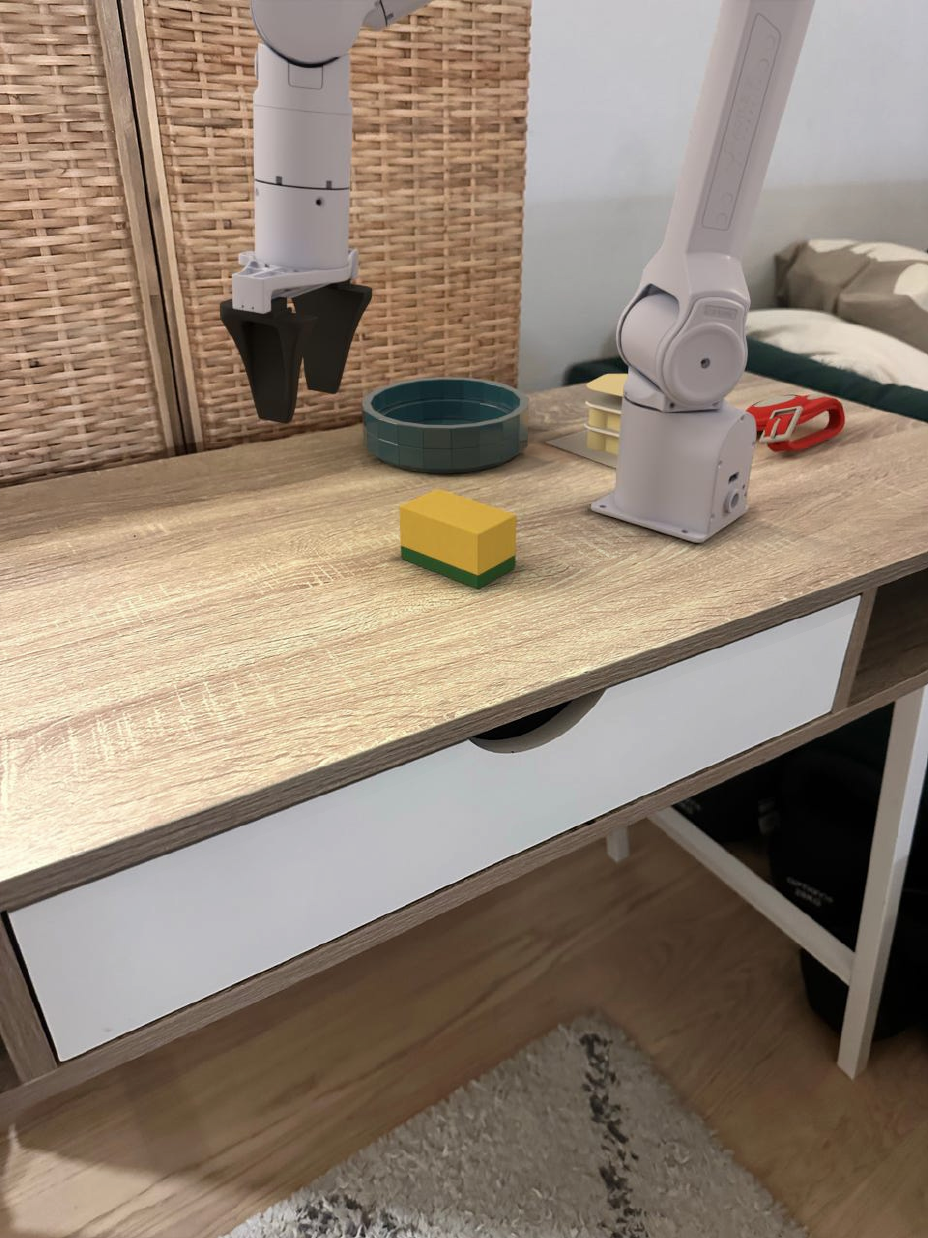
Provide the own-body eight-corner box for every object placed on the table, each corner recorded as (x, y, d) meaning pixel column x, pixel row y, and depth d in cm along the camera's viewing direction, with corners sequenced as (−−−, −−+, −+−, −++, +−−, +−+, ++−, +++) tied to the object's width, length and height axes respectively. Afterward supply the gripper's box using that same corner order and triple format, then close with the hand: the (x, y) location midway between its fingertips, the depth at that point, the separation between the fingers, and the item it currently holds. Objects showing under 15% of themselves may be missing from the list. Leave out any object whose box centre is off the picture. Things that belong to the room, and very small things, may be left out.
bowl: (559, 442, 86) (561, 397, 83) (454, 490, 76) (454, 440, 74) (439, 410, 94) (439, 368, 92) (331, 449, 84) (327, 403, 82)
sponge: (515, 568, 64) (517, 514, 62) (478, 589, 61) (478, 534, 59) (439, 539, 68) (438, 488, 66) (400, 558, 65) (398, 505, 63)
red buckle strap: (713, 408, 90) (812, 378, 90) (722, 452, 92) (819, 423, 92) (765, 419, 79) (878, 385, 79) (774, 470, 80) (885, 436, 80)
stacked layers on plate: (695, 449, 84) (703, 388, 81) (628, 473, 79) (634, 409, 76) (611, 421, 90) (616, 364, 88) (545, 442, 85) (547, 382, 83)
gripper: (292, 170, 64) (291, 370, 70) (179, 181, 51) (190, 423, 58) (391, 183, 62) (380, 386, 69) (298, 197, 50) (296, 443, 57)
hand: (300, 404), depth 63 cm, fingers open, 7 cm apart
